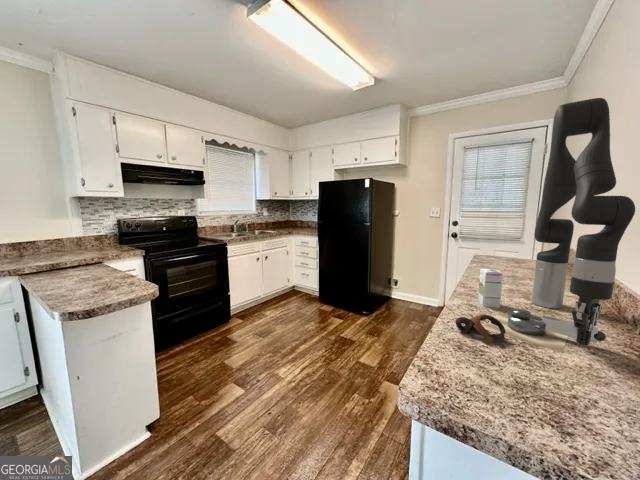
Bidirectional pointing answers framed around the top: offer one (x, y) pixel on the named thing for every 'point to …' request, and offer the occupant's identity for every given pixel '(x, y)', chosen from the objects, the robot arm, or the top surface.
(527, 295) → the top surface
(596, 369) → the top surface
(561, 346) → the beige flat square slab
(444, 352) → the top surface
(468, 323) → the brown curved loop piece
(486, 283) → the syrup box
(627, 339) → the top surface
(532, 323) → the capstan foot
